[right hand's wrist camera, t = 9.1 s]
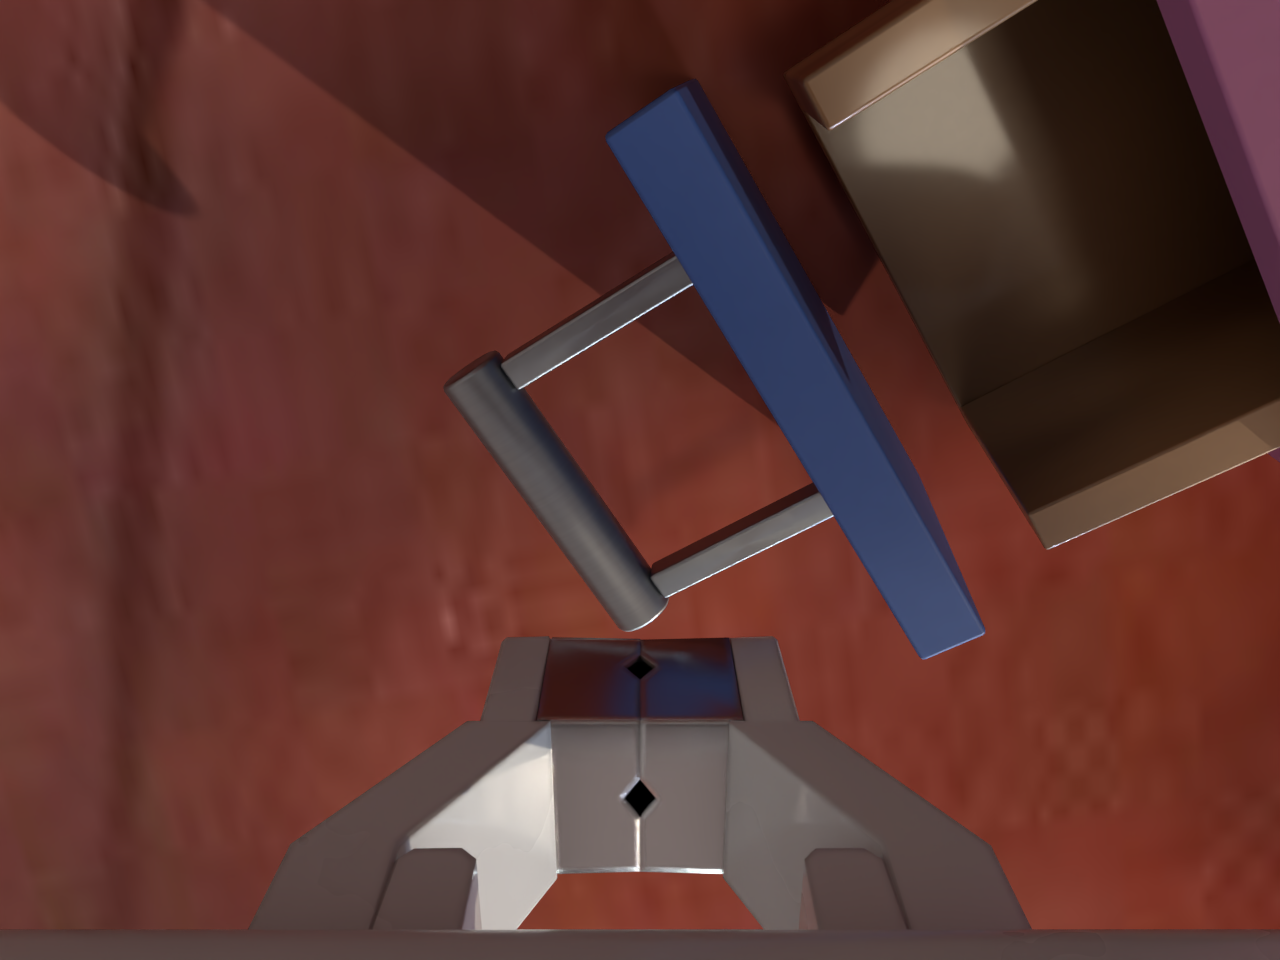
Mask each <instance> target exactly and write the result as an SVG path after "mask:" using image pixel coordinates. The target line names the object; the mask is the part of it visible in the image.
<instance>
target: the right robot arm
mask: <svg viewBox="0 0 1280 960" xmlns="http://www.w3.org/2000/svg"><path fill="white" fill-rule="evenodd" d="M637 871H640V872H676V873H713V874H723V878H724V879H725V881H726V882H727V883H728V884H729V886H730V887H731V888H732V889H733V891H734V892H735V893H736V894H737V896H738V897H739V898H740V900H741V901H742V902H743V903H744V905H745V906H746V907H747V908H748V910H749V911H750V912H751V913H752V915H753V916H754V917H755V918H756V920H757V921H758V922H759V924H760V925H761V926H762V927H763V929H764V930H516V929H517V928H518V927H519V926H520V924H521V923H522V922H523V920H524V919H525V918H526V917H527V915H528V914H529V913H530V912H531V910H532V909H533V908H534V907H535V905H536V904H537V903H538V902H539V900H540V899H541V898H542V897H543V895H544V894H545V893H546V892H547V890H548V889H549V888H550V887H551V885H552V884H553V883H554V882H555V880H556V879H557V874H567V873H602V872H637ZM0 960H1280V930H1259V929H1126V930H1032V929H1031V927H1030V924H1029V922H1028V920H1027V918H1026V916H1025V914H1024V912H1023V910H1022V908H1021V906H1020V904H1019V902H1018V900H1017V898H1016V896H1015V894H1014V892H1013V890H1012V888H1011V886H1010V884H1009V882H1008V880H1007V878H1006V876H1005V874H1004V872H1003V870H1002V867H1001V865H1000V863H999V861H998V859H997V857H996V855H995V853H994V851H993V849H992V847H991V845H989V844H988V843H986V842H985V841H983V840H982V839H981V838H979V837H978V836H976V835H975V834H973V833H972V832H971V831H969V830H968V829H966V828H965V827H963V826H962V825H961V824H959V823H958V822H956V821H955V820H953V819H952V818H951V817H949V816H948V815H946V814H945V813H943V812H942V811H941V810H939V809H938V808H936V807H935V806H933V805H932V804H931V803H929V802H928V801H926V800H925V799H923V798H922V797H921V796H919V795H918V794H916V793H915V792H913V791H912V790H911V789H909V788H908V787H906V786H905V785H903V784H902V783H901V782H899V781H898V780H896V779H895V778H893V777H892V776H891V775H889V774H888V773H886V772H885V771H883V770H882V769H881V768H879V767H878V766H876V765H875V764H873V763H872V762H870V761H869V760H868V759H866V758H865V757H863V756H862V755H860V754H859V753H858V752H856V751H855V750H853V749H852V748H850V747H849V746H848V745H846V744H845V743H843V742H842V741H840V740H839V739H838V738H836V737H835V736H833V735H832V734H830V733H829V732H828V731H826V730H825V729H823V728H822V727H820V726H819V725H818V724H816V723H815V722H813V721H800V720H799V717H798V713H797V709H796V706H795V702H794V699H793V695H792V691H791V688H790V684H789V681H788V677H787V673H786V670H785V666H784V663H783V659H782V655H781V652H780V648H779V645H778V641H777V639H775V638H774V637H773V636H765V637H742V638H693V639H652V640H640V639H616V638H563V637H552V639H550V638H549V637H548V636H547V637H507V638H506V639H505V640H504V641H503V642H502V644H501V647H500V651H499V654H498V658H497V662H496V665H495V669H494V673H493V676H492V680H491V684H490V687H489V691H488V695H487V698H486V702H485V706H484V709H483V713H482V717H481V720H480V721H467V722H465V723H464V724H462V725H461V726H460V727H458V728H457V729H455V730H454V731H452V732H451V733H450V734H448V735H447V736H445V737H444V738H442V739H441V740H439V741H438V742H437V743H435V744H434V745H432V746H431V747H429V748H428V749H427V750H425V751H424V752H422V753H421V754H419V755H418V756H416V757H415V758H414V759H412V760H411V761H409V762H408V763H406V764H405V765H404V766H402V767H401V768H399V769H398V770H396V771H395V772H394V773H392V774H391V775H389V776H388V777H386V778H385V779H383V780H382V781H381V782H379V783H378V784H376V785H375V786H373V787H372V788H371V789H369V790H368V791H366V792H365V793H363V794H362V795H360V796H359V797H358V798H356V799H355V800H353V801H352V802H350V803H349V804H348V805H346V806H345V807H343V808H342V809H340V810H339V811H337V812H336V813H335V814H333V815H332V816H330V817H329V818H327V819H326V820H325V821H323V822H322V823H320V824H319V825H317V826H316V827H314V828H313V829H312V830H310V831H309V832H307V833H306V834H304V835H303V836H302V837H300V838H299V839H297V840H296V841H294V842H293V843H291V844H290V846H289V848H288V850H287V852H286V854H285V856H284V858H283V860H282V862H281V864H280V866H279V868H278V870H277V872H276V874H275V876H274V878H273V880H272V882H271V884H270V886H269V888H268V890H267V892H266V894H265V896H264V898H263V900H262V902H261V904H260V906H259V908H258V910H257V912H256V914H255V916H254V918H253V921H252V923H251V925H250V927H249V929H248V930H0Z"/></svg>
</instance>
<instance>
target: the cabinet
mask: <svg viewBox="0 0 1280 960" xmlns="http://www.w3.org/2000/svg"><path fill="white" fill-rule="evenodd" d="M1156 1H1157V3H1158V6H1159V8H1160V11H1161V14H1162V16H1163V19H1164V22H1165V24H1166V27H1167V29H1168V32H1169V35H1170V37H1171V40H1172V43H1173V45H1174V48H1175V50H1176V53H1177V56H1178V58H1179V61H1180V64H1181V66H1182V69H1183V71H1184V74H1185V77H1186V79H1187V82H1188V84H1189V87H1190V90H1191V92H1192V95H1193V98H1194V100H1195V103H1196V105H1197V108H1198V111H1199V113H1200V116H1201V119H1202V121H1203V124H1204V126H1205V129H1206V132H1207V134H1208V137H1209V140H1210V142H1211V145H1212V147H1213V150H1214V153H1215V155H1216V158H1217V161H1218V163H1219V166H1220V168H1221V171H1222V174H1223V176H1224V179H1225V182H1226V184H1227V187H1228V189H1229V192H1230V195H1231V197H1232V200H1233V203H1234V205H1235V208H1236V210H1237V213H1238V216H1239V218H1240V221H1241V224H1242V226H1243V229H1244V231H1245V234H1246V237H1247V239H1248V242H1249V244H1250V247H1251V250H1252V252H1253V255H1254V258H1255V260H1256V263H1257V265H1258V268H1259V271H1260V273H1261V276H1262V279H1263V281H1264V284H1265V286H1266V289H1267V292H1268V294H1269V297H1270V300H1271V302H1272V305H1273V307H1274V310H1275V313H1276V315H1277V318H1278V321H1279V323H1280V0H1156ZM1268 454H1269V455H1271V456H1272V457H1273V458H1275V459H1276V460H1277V461H1279V462H1280V448H1277V449H1275V450H1273V451H1271V452H1268Z"/></svg>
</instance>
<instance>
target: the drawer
mask: <svg viewBox="0 0 1280 960" xmlns="http://www.w3.org/2000/svg"><path fill="white" fill-rule="evenodd" d="M783 76H784V78H785V80H786V82H787V84H788V86H789V88H790V90H791V91H792V93H793V95H794V97H795V99H796V101H797V103H798V105H799V107H800V108H801V110H802V112H803V114H804V116H805V118H806V120H807V122H808V124H809V125H810V127H811V129H812V131H813V133H814V135H815V137H816V139H817V141H818V143H819V144H820V146H821V148H822V150H823V152H824V154H825V156H826V158H827V160H828V161H829V163H830V165H831V167H832V169H833V171H834V173H835V175H836V177H837V179H838V180H839V182H840V184H841V186H842V188H843V190H844V192H845V194H846V196H847V197H848V199H849V201H850V203H851V205H852V207H853V209H854V211H855V213H856V214H857V216H858V218H859V220H860V222H861V224H862V226H863V228H864V230H865V232H866V233H867V235H868V237H869V239H870V241H871V243H872V245H873V247H874V249H875V250H876V252H877V254H878V256H879V258H880V260H881V262H882V264H883V266H884V267H885V269H886V271H887V273H888V275H889V277H890V279H891V281H892V283H893V285H894V286H895V288H896V290H897V292H898V294H899V296H900V298H901V300H902V302H903V303H904V305H905V307H906V309H907V311H908V313H909V315H910V317H911V319H912V321H913V322H914V324H915V326H916V328H917V330H918V332H919V334H920V336H921V338H922V339H923V341H924V343H925V345H926V347H927V349H928V351H929V353H930V355H931V356H932V358H933V360H934V362H935V364H936V366H937V368H938V370H939V372H940V374H941V375H942V377H943V379H944V381H945V383H946V385H947V387H948V389H949V391H950V392H951V394H952V396H953V398H954V400H955V402H956V404H957V406H958V408H959V409H960V411H961V413H962V415H963V417H964V419H965V421H966V423H967V424H968V426H969V428H970V429H971V431H972V432H973V434H974V435H975V437H976V439H977V440H978V442H979V444H980V445H981V447H982V448H983V450H984V452H985V453H986V455H987V456H988V458H989V460H990V461H991V463H992V464H993V466H994V468H995V469H996V471H997V472H998V474H999V476H1000V477H1001V479H1002V480H1003V482H1004V484H1005V485H1006V487H1007V488H1008V490H1009V492H1010V493H1011V495H1012V496H1013V498H1014V500H1015V501H1016V503H1017V505H1018V506H1019V508H1020V509H1021V511H1022V513H1023V514H1024V516H1025V517H1026V519H1027V521H1028V522H1029V524H1030V525H1031V527H1032V529H1033V530H1034V532H1035V533H1036V535H1037V537H1038V538H1039V540H1040V541H1041V543H1042V545H1043V546H1044V548H1045V549H1047V550H1048V549H1051V548H1053V547H1056V546H1058V545H1060V544H1062V543H1065V542H1067V541H1069V540H1071V539H1074V538H1076V537H1078V536H1080V535H1083V534H1085V533H1087V532H1089V531H1092V530H1094V529H1096V528H1099V527H1101V526H1103V525H1105V524H1108V523H1110V522H1112V521H1114V520H1117V519H1119V518H1121V517H1123V516H1126V515H1128V514H1130V513H1133V512H1135V511H1137V510H1139V509H1142V508H1144V507H1146V506H1148V505H1151V504H1153V503H1155V502H1157V501H1160V500H1162V499H1164V498H1166V497H1169V496H1171V495H1173V494H1176V493H1178V492H1180V491H1182V490H1185V489H1187V488H1189V487H1191V486H1194V485H1196V484H1198V483H1200V482H1203V481H1205V480H1207V479H1209V478H1212V477H1214V476H1216V475H1219V474H1221V473H1223V472H1225V471H1228V470H1230V469H1232V468H1234V467H1237V466H1239V465H1241V464H1243V463H1246V462H1248V461H1250V460H1252V459H1255V458H1257V457H1259V456H1262V455H1264V454H1266V453H1268V452H1271V451H1273V450H1275V449H1277V448H1280V323H1279V321H1278V318H1277V315H1276V313H1275V310H1274V307H1273V305H1272V302H1271V300H1270V297H1269V294H1268V292H1267V289H1266V286H1265V284H1264V281H1263V279H1262V276H1261V273H1260V271H1259V268H1258V265H1257V263H1256V260H1255V258H1254V255H1253V252H1252V250H1251V247H1250V244H1249V242H1248V239H1247V237H1246V234H1245V231H1244V229H1243V226H1242V224H1241V221H1240V218H1239V216H1238V213H1237V210H1236V208H1235V205H1234V203H1233V200H1232V197H1231V195H1230V192H1229V189H1228V187H1227V184H1226V182H1225V179H1224V176H1223V174H1222V171H1221V168H1220V166H1219V163H1218V161H1217V158H1216V155H1215V153H1214V150H1213V147H1212V145H1211V142H1210V140H1209V137H1208V134H1207V132H1206V129H1205V126H1204V124H1203V121H1202V119H1201V116H1200V113H1199V111H1198V108H1197V105H1196V103H1195V100H1194V98H1193V95H1192V92H1191V90H1190V87H1189V84H1188V82H1187V79H1186V77H1185V74H1184V71H1183V69H1182V66H1181V64H1180V61H1179V58H1178V56H1177V53H1176V50H1175V48H1174V45H1173V43H1172V40H1171V37H1170V35H1169V32H1168V29H1167V27H1166V24H1165V22H1164V19H1163V16H1162V14H1161V11H1160V8H1159V6H1158V3H1157V1H1156V0H892V1H891V2H889V3H888V4H886V5H885V6H883V7H882V8H880V9H879V10H877V11H876V12H874V13H873V14H871V15H870V16H868V17H867V18H865V19H863V20H862V21H860V22H859V23H857V24H856V25H854V26H853V27H851V28H850V29H848V30H847V31H845V32H844V33H842V34H841V35H839V36H838V37H836V38H835V39H833V40H832V41H830V42H829V43H827V44H826V45H824V46H823V47H821V48H820V49H818V50H817V51H815V52H814V53H812V54H811V55H809V56H808V57H806V58H805V59H803V60H802V61H800V62H799V63H797V64H796V65H794V66H793V67H791V68H790V69H788V70H787V71H785V72H784V74H783ZM605 138H606V142H607V144H608V145H609V147H610V148H611V150H612V152H613V153H614V155H615V157H616V158H617V160H618V162H619V163H620V165H621V167H622V168H623V170H624V172H625V173H626V175H627V176H628V178H629V180H630V181H631V183H632V185H633V186H634V188H635V190H636V191H637V193H638V195H639V196H640V198H641V199H642V201H643V203H644V204H645V206H646V208H647V209H648V211H649V213H650V214H651V216H652V218H653V219H654V221H655V223H656V224H657V226H658V227H659V229H660V231H661V232H662V234H663V236H664V237H665V239H666V241H667V242H668V244H669V246H670V247H671V249H672V251H673V252H672V253H670V254H669V255H667V256H665V257H664V258H662V259H661V260H659V261H657V262H656V263H654V264H652V265H651V266H649V267H648V268H646V269H644V270H643V271H641V272H640V273H638V274H636V275H635V276H633V277H632V278H630V279H628V280H627V281H625V282H624V283H622V284H620V285H619V286H617V287H616V288H614V289H612V290H611V291H609V292H608V293H606V294H604V295H603V296H601V297H600V298H598V299H596V300H595V301H593V302H591V303H590V304H588V305H587V306H585V307H583V308H582V309H580V310H579V311H577V312H575V313H574V314H572V315H571V316H569V317H567V318H566V319H564V320H563V321H561V322H559V323H558V324H556V325H555V326H553V327H551V328H550V329H548V330H547V331H545V332H543V333H542V334H540V335H539V336H537V337H535V338H534V339H532V340H530V341H529V342H527V343H526V344H524V345H522V346H521V347H519V348H518V349H516V350H514V351H513V352H511V353H510V354H508V355H507V356H506V358H505V359H503V357H502V356H501V355H500V353H499V352H497V351H492V352H489V353H487V354H485V355H483V356H481V357H479V358H478V359H476V360H475V361H473V362H472V363H470V364H469V365H467V366H466V367H464V368H463V369H461V370H460V371H459V372H458V373H456V374H455V375H454V376H453V377H451V378H450V379H449V380H448V381H447V382H446V384H445V385H444V387H443V388H444V392H445V393H446V394H447V396H448V397H449V398H450V400H451V401H452V402H453V404H454V405H455V406H456V408H457V409H458V411H459V412H460V413H461V415H462V416H463V417H464V419H465V420H466V421H467V423H468V424H469V425H470V427H471V428H472V430H473V431H474V432H475V434H476V435H477V436H478V438H479V439H480V440H481V442H482V443H483V444H484V446H485V447H486V449H487V450H488V451H489V453H490V454H491V455H492V457H493V458H494V459H495V461H496V462H497V463H498V465H499V466H500V468H501V469H502V470H503V472H504V473H505V474H506V476H507V477H508V478H509V480H510V481H511V482H512V484H513V485H514V487H515V488H516V489H517V491H518V492H519V493H520V495H521V496H522V497H523V499H524V500H525V501H526V503H527V504H528V506H529V507H530V508H531V510H532V511H533V512H534V514H535V515H536V516H537V518H538V519H539V520H540V522H541V523H542V525H543V526H544V527H545V529H546V530H547V531H548V533H549V534H550V535H551V537H552V538H553V539H554V541H555V542H556V544H557V545H558V546H559V548H560V549H561V550H562V552H563V553H564V554H565V556H566V557H567V558H568V560H569V561H570V563H571V564H572V565H573V567H574V568H575V569H576V571H577V572H578V573H579V575H580V576H581V577H582V579H583V580H584V582H585V583H586V584H587V586H588V587H589V588H590V590H591V591H592V592H593V594H594V595H595V596H596V598H597V599H598V600H599V602H600V603H601V605H602V606H603V607H604V609H605V610H606V611H607V613H608V614H609V615H610V617H611V618H612V619H613V621H614V622H615V624H616V625H617V626H618V628H620V629H621V630H623V631H627V632H628V631H634V630H637V629H640V628H642V627H644V626H646V625H647V624H649V623H650V622H652V621H653V620H654V619H655V618H657V617H658V616H659V615H660V614H661V613H662V611H663V610H664V609H665V607H666V606H667V604H668V600H669V596H671V595H674V594H676V593H678V592H680V591H682V590H684V589H686V588H688V587H690V586H692V585H694V584H696V583H698V582H700V581H702V580H704V579H706V578H708V577H710V576H712V575H714V574H716V573H719V572H721V571H723V570H725V569H727V568H729V567H731V566H733V565H735V564H737V563H739V562H741V561H743V560H745V559H747V558H749V557H751V556H753V555H755V554H757V553H759V552H761V551H764V550H766V549H768V548H770V547H772V546H774V545H776V544H778V543H780V542H782V541H784V540H786V539H788V538H790V537H792V536H794V535H796V534H798V533H800V532H802V531H804V530H806V529H808V528H811V527H813V526H815V525H817V524H819V523H821V522H823V521H825V520H827V519H829V518H831V517H833V516H834V517H835V519H836V520H837V522H838V524H839V525H840V527H841V529H842V530H843V532H844V534H845V535H846V537H847V539H848V540H849V542H850V544H851V545H852V547H853V548H854V550H855V552H856V553H857V555H858V557H859V558H860V560H861V562H862V563H863V565H864V567H865V568H866V570H867V572H868V573H869V575H870V576H871V578H872V580H873V581H874V583H875V585H876V586H877V588H878V590H879V591H880V593H881V595H882V596H883V598H884V600H885V601H886V603H887V604H888V606H889V608H890V609H891V611H892V613H893V614H894V616H895V618H896V619H897V621H898V623H899V624H900V626H901V627H902V629H903V631H904V632H905V634H906V636H907V637H908V639H909V641H910V642H911V644H912V646H913V647H914V649H915V651H916V652H917V654H918V655H919V657H920V658H922V659H927V658H929V657H932V656H934V655H937V654H939V653H941V652H944V651H946V650H948V649H951V648H953V647H956V646H958V645H960V644H963V643H965V642H967V641H970V640H972V639H974V638H977V637H979V636H982V635H983V634H984V633H985V627H984V625H983V623H982V620H981V618H980V616H979V614H978V611H977V609H976V607H975V604H974V602H973V600H972V597H971V595H970V593H969V590H968V588H967V586H966V583H965V581H964V579H963V576H962V574H961V572H960V569H959V567H958V565H957V562H956V560H955V558H954V556H953V553H952V551H951V549H950V546H949V544H948V542H947V539H946V537H945V535H944V532H943V530H942V528H941V525H940V523H939V521H938V518H937V516H936V514H935V511H934V509H933V507H932V504H931V502H930V500H929V498H928V495H927V493H926V491H925V488H924V486H923V484H922V481H921V479H920V477H919V474H918V473H917V471H916V469H915V467H914V466H913V464H912V462H911V460H910V458H909V457H908V455H907V453H906V451H905V450H904V448H903V446H902V444H901V442H900V441H899V439H898V437H897V435H896V433H895V432H894V430H893V428H892V426H891V425H890V423H889V421H888V419H887V417H886V416H885V414H884V412H883V410H882V408H881V407H880V405H879V403H878V401H877V400H876V398H875V396H874V394H873V392H872V391H871V389H870V387H869V385H868V383H867V382H866V380H865V378H864V376H863V375H862V373H861V371H860V369H859V367H858V366H857V364H856V362H855V360H854V359H853V357H852V355H851V353H850V351H849V350H848V348H847V346H846V344H845V342H844V341H843V339H842V337H841V335H840V334H839V332H838V330H837V328H836V326H835V325H834V323H833V321H832V319H831V317H830V316H829V314H828V312H827V310H826V309H825V307H824V305H823V303H822V301H821V300H820V298H819V296H818V294H817V292H816V291H815V289H814V287H813V285H812V284H811V282H810V280H809V278H808V276H807V275H806V273H805V271H804V269H803V268H802V266H801V264H800V262H799V260H798V259H797V257H796V255H795V253H794V251H793V250H792V248H791V246H790V244H789V243H788V241H787V239H786V237H785V235H784V234H783V232H782V230H781V228H780V226H779V225H778V223H777V221H776V219H775V218H774V216H773V214H772V212H771V210H770V209H769V207H768V205H767V203H766V201H765V200H764V198H763V196H762V194H761V193H760V191H759V189H758V187H757V185H756V184H755V182H754V180H753V178H752V176H751V175H750V173H749V171H748V169H747V168H746V166H745V164H744V162H743V160H742V159H741V157H740V155H739V153H738V152H737V150H736V148H735V146H734V144H733V143H732V141H731V139H730V137H729V135H728V134H727V132H726V130H725V128H724V127H723V125H722V123H721V121H720V119H719V118H718V116H717V114H716V112H715V110H714V109H713V107H712V105H711V103H710V102H709V100H708V98H707V96H706V94H705V93H704V91H703V89H702V87H701V85H700V84H699V82H698V80H696V79H691V80H689V81H687V82H685V83H683V84H680V85H678V86H676V87H674V88H672V89H670V90H668V91H667V92H665V93H664V94H663V95H661V96H660V97H658V98H657V99H655V100H654V101H652V102H651V103H649V104H648V105H647V106H645V107H644V108H642V109H641V110H639V111H638V112H636V113H635V114H633V115H632V116H631V117H629V118H628V119H626V120H625V121H623V122H622V123H620V124H619V125H617V126H616V127H615V128H613V129H612V130H610V131H609V132H608V133H607V134H606V136H605ZM692 285H694V287H695V288H696V290H697V292H698V293H699V295H700V297H701V298H702V300H703V302H704V303H705V305H706V306H707V308H708V310H709V311H710V313H711V315H712V316H713V318H714V320H715V321H716V323H717V325H718V326H719V328H720V330H721V331H722V333H723V334H724V336H725V338H726V339H727V341H728V343H729V344H730V346H731V348H732V349H733V351H734V353H735V354H736V356H737V358H738V359H739V361H740V362H741V364H742V366H743V367H744V369H745V371H746V372H747V374H748V376H749V377H750V379H751V381H752V382H753V384H754V386H755V387H756V389H757V390H758V392H759V394H760V395H761V397H762V399H763V400H764V402H765V404H766V405H767V407H768V409H769V410H770V412H771V413H772V415H773V417H774V418H775V420H776V422H777V423H778V425H779V427H780V428H781V430H782V432H783V433H784V435H785V437H786V438H787V440H788V441H789V443H790V445H791V446H792V448H793V450H794V451H795V453H796V455H797V456H798V458H799V460H800V461H801V463H802V465H803V466H804V468H805V469H806V471H807V473H808V474H809V476H810V478H811V479H812V481H813V483H811V484H809V485H807V486H805V487H803V488H801V489H799V490H797V491H795V492H793V493H791V494H789V495H787V496H785V497H783V498H781V499H779V500H778V501H776V502H774V503H772V504H770V505H768V506H766V507H764V508H762V509H760V510H758V511H756V512H754V513H752V514H750V515H748V516H746V517H744V518H742V519H740V520H738V521H736V522H734V523H732V524H730V525H728V526H726V527H724V528H722V529H720V530H718V531H716V532H714V533H712V534H710V535H708V536H706V537H704V538H702V539H700V540H698V541H696V542H694V543H692V544H690V545H688V546H686V547H684V548H683V549H681V550H679V551H677V552H675V553H673V554H671V555H669V556H667V557H665V558H663V559H661V560H659V561H657V562H655V563H653V565H652V569H651V568H650V566H649V565H648V564H647V562H646V561H645V559H644V558H643V556H642V555H641V554H640V552H639V551H638V549H637V548H636V546H635V545H634V544H633V542H632V541H631V539H630V538H629V537H628V535H627V534H626V532H625V531H624V529H623V528H622V527H621V525H620V524H619V522H618V521H617V519H616V518H615V517H614V515H613V514H612V512H611V511H610V510H609V508H608V507H607V505H606V504H605V502H604V501H603V500H602V498H601V497H600V495H599V494H598V492H597V491H596V490H595V488H594V487H593V485H592V484H591V482H590V481H589V480H588V478H587V477H586V475H585V474H584V473H583V471H582V470H581V468H580V467H579V465H578V464H577V463H576V461H575V460H574V458H573V457H572V455H571V454H570V453H569V451H568V450H567V448H566V447H565V446H564V444H563V443H562V441H561V440H560V438H559V437H558V436H557V434H556V433H555V431H554V430H553V428H552V427H551V426H550V424H549V423H548V421H547V420H546V419H545V417H544V416H543V414H542V413H541V411H540V410H539V409H538V407H537V406H536V404H535V403H534V401H533V400H532V399H531V397H530V396H529V394H528V393H527V391H526V390H525V389H524V387H525V386H527V385H529V384H530V383H532V382H534V381H535V380H537V379H539V378H540V377H542V376H544V375H545V374H547V373H549V372H550V371H552V370H554V369H555V368H557V367H558V366H560V365H562V364H563V363H565V362H567V361H568V360H570V359H572V358H573V357H575V356H577V355H578V354H580V353H582V352H583V351H585V350H587V349H588V348H590V347H592V346H593V345H595V344H596V343H598V342H600V341H601V340H603V339H605V338H606V337H608V336H610V335H611V334H613V333H615V332H616V331H618V330H620V329H621V328H623V327H625V326H626V325H628V324H630V323H631V322H633V321H634V320H636V319H638V318H639V317H641V316H643V315H644V314H646V313H648V312H649V311H651V310H653V309H654V308H656V307H658V306H659V305H661V304H663V303H664V302H666V301H668V300H669V299H671V298H672V297H674V296H676V295H677V294H679V293H681V292H682V291H684V290H686V289H687V288H689V287H691V286H692Z"/></svg>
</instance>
